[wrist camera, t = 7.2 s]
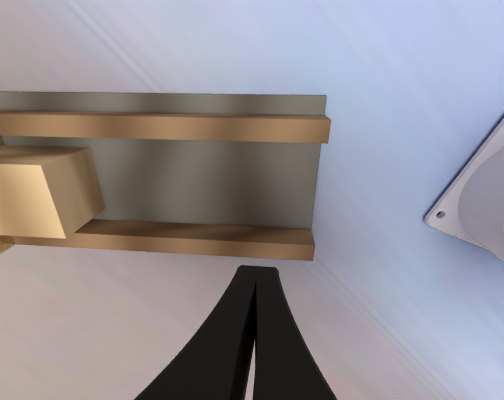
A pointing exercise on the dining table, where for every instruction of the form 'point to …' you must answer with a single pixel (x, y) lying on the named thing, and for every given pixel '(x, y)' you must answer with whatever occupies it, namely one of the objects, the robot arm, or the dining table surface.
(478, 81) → the dining table surface
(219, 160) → the channel
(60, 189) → the block
